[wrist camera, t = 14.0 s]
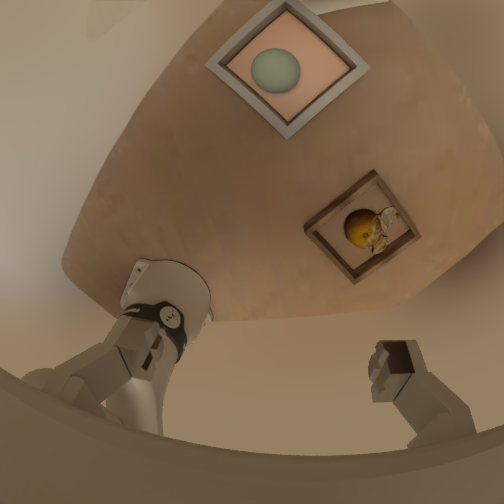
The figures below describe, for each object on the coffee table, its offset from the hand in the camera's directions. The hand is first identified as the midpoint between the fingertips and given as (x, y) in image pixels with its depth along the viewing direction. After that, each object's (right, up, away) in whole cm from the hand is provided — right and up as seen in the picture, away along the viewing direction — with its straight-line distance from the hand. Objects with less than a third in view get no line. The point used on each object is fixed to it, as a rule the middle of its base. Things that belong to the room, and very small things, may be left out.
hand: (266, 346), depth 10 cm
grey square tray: (+4, +28, +22) cm, 36 cm away
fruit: (+18, +7, +33) cm, 38 cm away
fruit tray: (+16, +7, +33) cm, 37 cm away
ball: (+2, +25, +20) cm, 32 cm away
